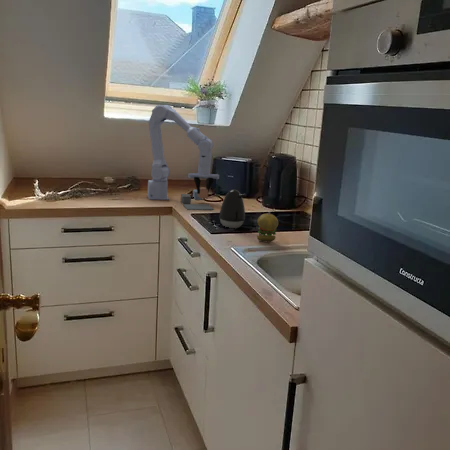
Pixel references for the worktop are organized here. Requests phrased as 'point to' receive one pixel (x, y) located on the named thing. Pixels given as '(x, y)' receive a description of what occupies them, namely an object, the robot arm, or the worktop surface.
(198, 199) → the dusty-blue brick
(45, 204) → the worktop surface
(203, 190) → the terracotta brick
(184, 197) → the charcoal brick
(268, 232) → the hamburger
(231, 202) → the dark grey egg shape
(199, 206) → the slate mat
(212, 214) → the worktop surface
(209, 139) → the robot arm
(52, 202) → the worktop surface
